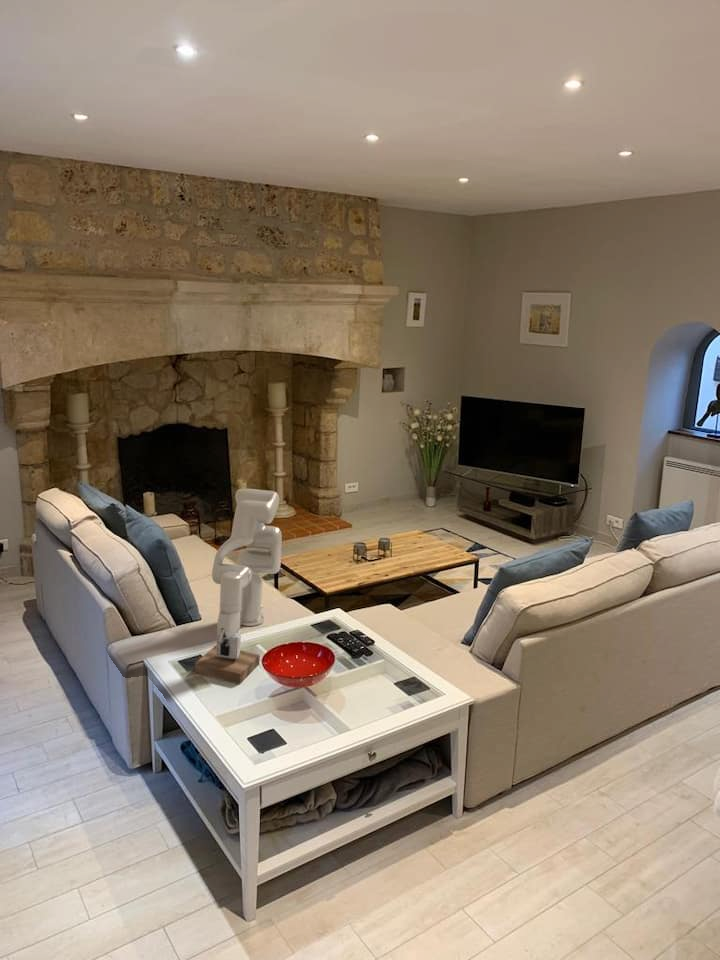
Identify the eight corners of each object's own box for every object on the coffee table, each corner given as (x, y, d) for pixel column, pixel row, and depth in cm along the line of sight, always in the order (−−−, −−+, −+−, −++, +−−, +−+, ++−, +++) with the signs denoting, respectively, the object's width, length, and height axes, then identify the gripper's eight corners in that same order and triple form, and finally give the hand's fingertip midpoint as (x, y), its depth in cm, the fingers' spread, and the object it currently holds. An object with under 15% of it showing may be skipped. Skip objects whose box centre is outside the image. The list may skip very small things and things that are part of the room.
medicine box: (240, 654, 268) (241, 632, 266) (236, 659, 263) (238, 637, 261) (219, 651, 268) (220, 629, 266) (215, 656, 264) (216, 635, 262)
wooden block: (216, 654, 277) (216, 644, 276) (259, 664, 272) (259, 654, 271) (194, 673, 262) (195, 663, 261) (239, 684, 257) (240, 674, 256)
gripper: (231, 595, 270) (229, 640, 274) (209, 612, 254) (207, 659, 258) (250, 599, 268) (247, 644, 272) (228, 617, 252) (226, 664, 256)
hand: (228, 651), depth 265 cm, fingers closed on medicine box, 5 cm apart
